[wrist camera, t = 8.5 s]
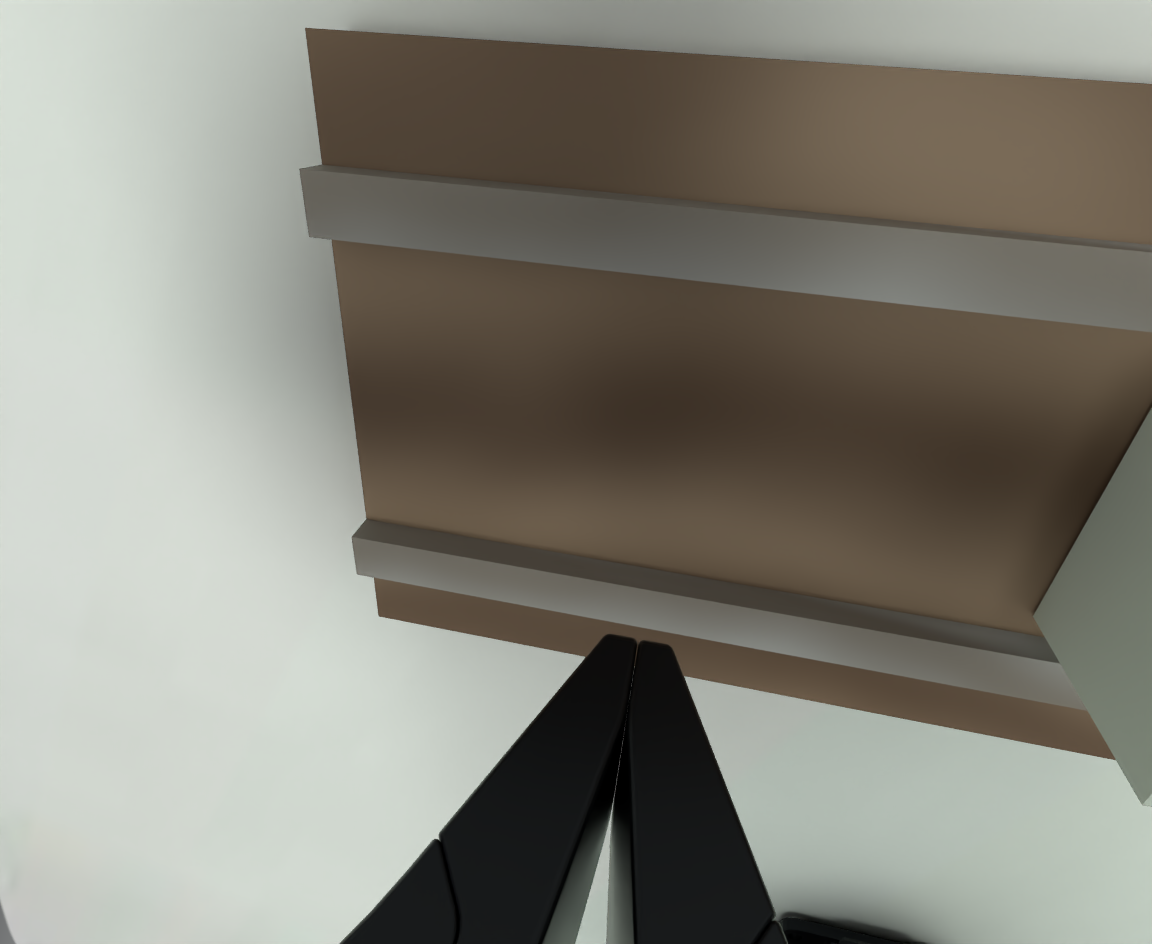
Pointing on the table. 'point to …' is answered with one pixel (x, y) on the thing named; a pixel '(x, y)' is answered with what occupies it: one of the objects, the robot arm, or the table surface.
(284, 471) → the table surface
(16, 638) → the table surface
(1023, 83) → the track
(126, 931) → the table surface
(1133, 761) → the block
